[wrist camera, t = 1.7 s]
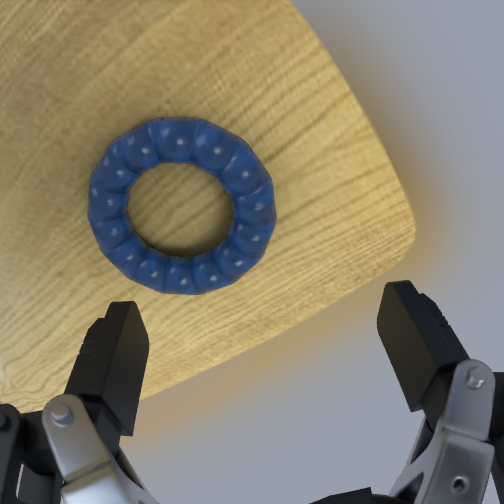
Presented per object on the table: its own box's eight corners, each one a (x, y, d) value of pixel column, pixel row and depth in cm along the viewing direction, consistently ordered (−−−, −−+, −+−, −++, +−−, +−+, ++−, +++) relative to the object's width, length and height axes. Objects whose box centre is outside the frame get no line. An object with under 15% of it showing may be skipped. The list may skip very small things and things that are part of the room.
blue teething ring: (197, 74, 14) (192, 74, 12) (306, 225, 18) (315, 245, 17) (65, 191, 16) (48, 207, 14) (174, 303, 21) (170, 327, 19)
